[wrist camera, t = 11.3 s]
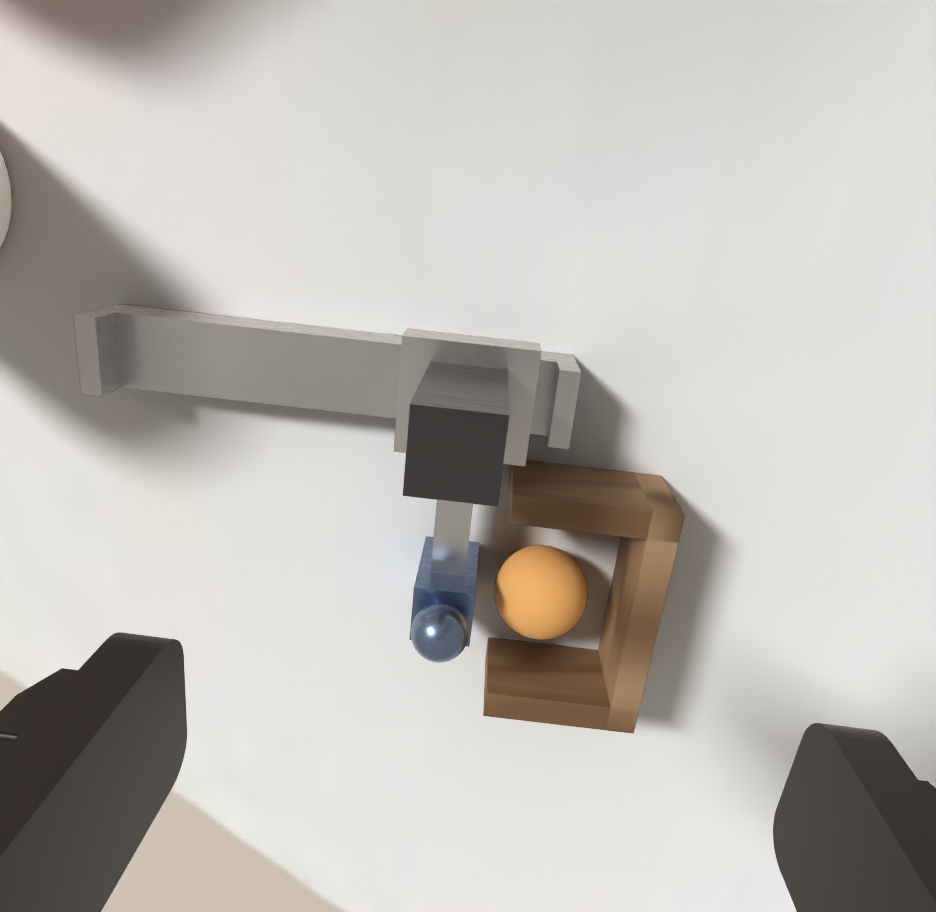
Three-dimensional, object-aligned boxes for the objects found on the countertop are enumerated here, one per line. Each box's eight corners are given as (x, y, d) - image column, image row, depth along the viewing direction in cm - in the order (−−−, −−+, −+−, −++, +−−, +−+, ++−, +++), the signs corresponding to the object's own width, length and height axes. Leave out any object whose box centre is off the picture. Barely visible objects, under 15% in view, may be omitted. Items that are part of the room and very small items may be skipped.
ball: (614, 561, 28) (550, 522, 31) (543, 584, 26) (481, 539, 29) (598, 642, 30) (538, 597, 33) (529, 670, 27) (471, 619, 30)
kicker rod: (413, 321, 27) (372, 371, 19) (537, 335, 27) (552, 391, 19) (393, 579, 31) (352, 717, 23) (501, 592, 31) (501, 735, 23)
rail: (119, 304, 28) (73, 315, 25) (572, 354, 28) (581, 372, 25) (124, 375, 29) (81, 393, 26) (562, 424, 29) (568, 449, 26)
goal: (512, 458, 29) (513, 495, 26) (661, 476, 29) (684, 514, 26) (485, 658, 33) (483, 715, 29) (618, 673, 33) (633, 733, 29)
